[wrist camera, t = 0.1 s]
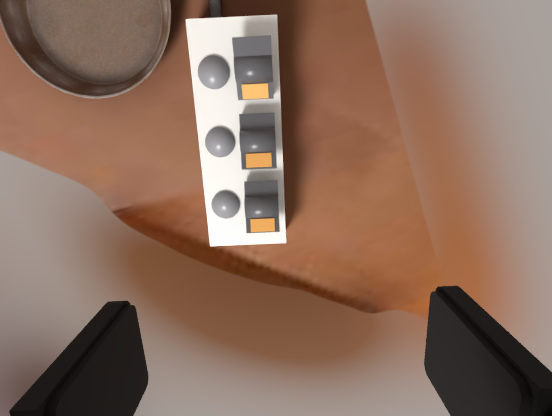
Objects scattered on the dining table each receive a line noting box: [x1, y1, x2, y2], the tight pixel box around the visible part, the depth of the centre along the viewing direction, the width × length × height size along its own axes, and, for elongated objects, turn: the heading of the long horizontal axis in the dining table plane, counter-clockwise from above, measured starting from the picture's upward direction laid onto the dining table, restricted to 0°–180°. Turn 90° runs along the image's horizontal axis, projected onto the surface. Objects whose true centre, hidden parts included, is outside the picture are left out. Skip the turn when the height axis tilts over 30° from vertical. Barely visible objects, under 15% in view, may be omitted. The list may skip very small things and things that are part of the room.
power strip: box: [186, 0, 286, 246], centre depth 36 cm, size 32×9×4 cm, turn 3°
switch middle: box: [239, 112, 277, 170], centre depth 34 cm, size 6×4×3 cm, turn 3°
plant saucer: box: [0, 0, 171, 98], centre depth 34 cm, size 18×18×3 cm
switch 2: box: [244, 180, 280, 233], centre depth 36 cm, size 6×4×3 cm, turn 3°
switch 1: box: [232, 35, 274, 100], centre depth 32 cm, size 6×4×3 cm, turn 2°
